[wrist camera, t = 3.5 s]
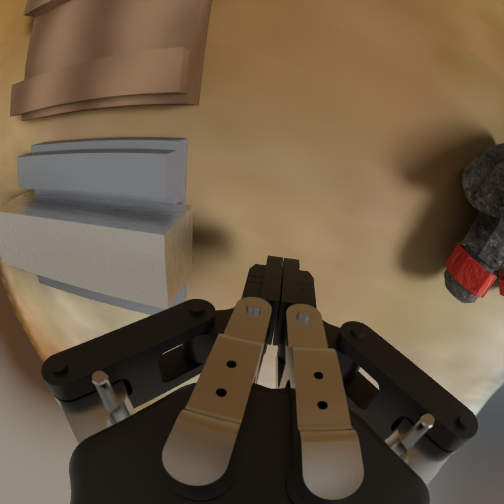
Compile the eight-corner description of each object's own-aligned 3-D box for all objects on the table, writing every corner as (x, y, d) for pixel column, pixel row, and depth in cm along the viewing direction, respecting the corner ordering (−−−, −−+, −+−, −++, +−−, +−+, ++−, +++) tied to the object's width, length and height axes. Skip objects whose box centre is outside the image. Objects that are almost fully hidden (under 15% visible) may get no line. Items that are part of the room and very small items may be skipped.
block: (35, 239, 18) (2, 262, 14) (27, 191, 16) (-10, 210, 13) (192, 269, 17) (168, 309, 13) (193, 206, 15) (164, 235, 12)
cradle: (40, 117, 15) (10, 123, 12) (59, -8, 10) (32, -16, 7) (198, 104, 14) (177, 102, 11) (221, -50, 9) (208, -75, 6)
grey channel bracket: (61, 269, 21) (41, 287, 18) (44, 142, 16) (16, 150, 13) (185, 298, 20) (171, 325, 17) (187, 138, 15) (166, 143, 12)
